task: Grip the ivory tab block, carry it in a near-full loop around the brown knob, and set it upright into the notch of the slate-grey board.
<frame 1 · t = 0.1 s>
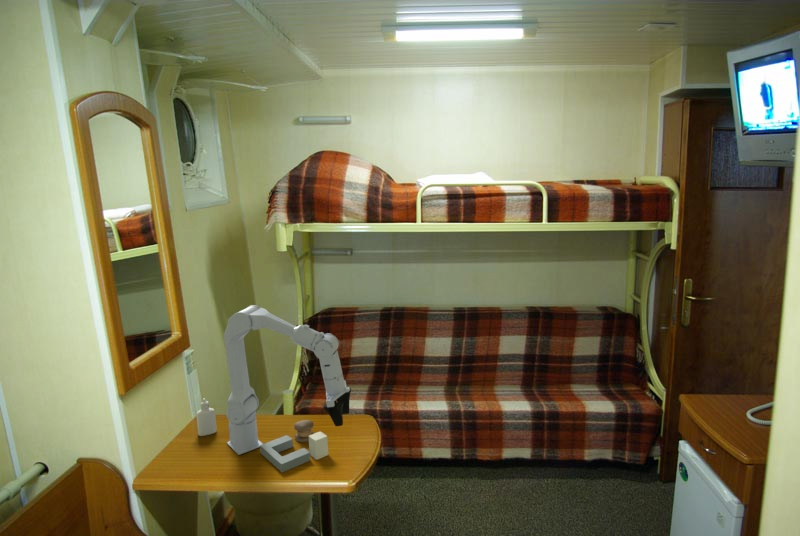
hand: (342, 419, 144), 10 cm above the table, tool pointing down, fingers open, 7 cm apart
brown knob: (304, 437, 155), on the table
notched board: (285, 456, 144), on the table
energy drink: (239, 432, 159), on the table
tab block: (319, 454, 144), on the table
eye dropper bottle: (207, 433, 160), on the table
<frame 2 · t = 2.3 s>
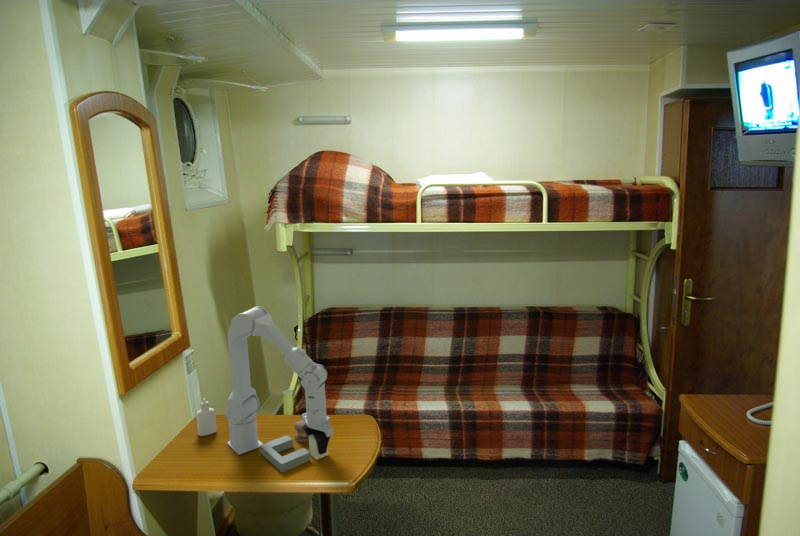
hand: (318, 450, 144), 1 cm above the table, tool pointing down, fingers closed on tab block, 4 cm apart
tab block: (319, 454, 144), on the table, touching gripper
everything else where it was.
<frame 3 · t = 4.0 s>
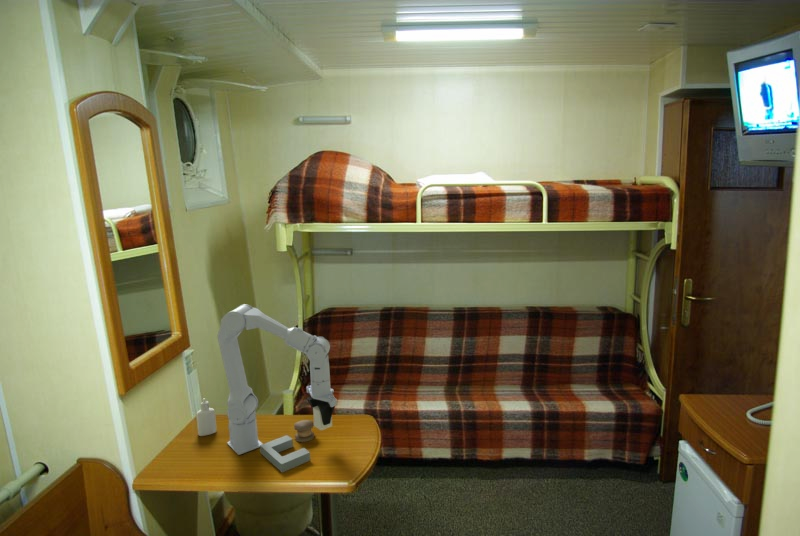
hand: (322, 421, 147), 8 cm above the table, tool pointing down, fingers closed on tab block, 4 cm apart
tab block: (323, 426, 147), point 7 cm above the table, touching gripper
everything else where it was.
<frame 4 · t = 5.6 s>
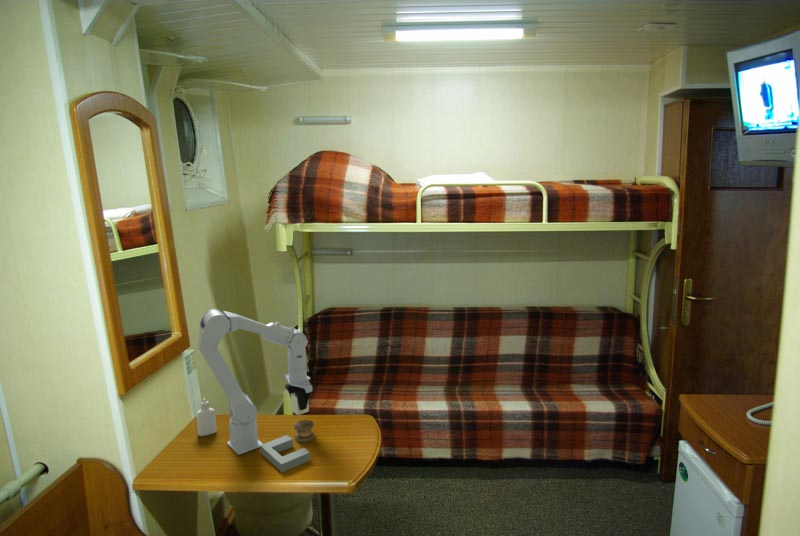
hand: (299, 406, 158), 8 cm above the table, tool pointing down, fingers closed on tab block, 4 cm apart
tab block: (300, 411, 158), point 7 cm above the table, touching gripper
everything else where it was.
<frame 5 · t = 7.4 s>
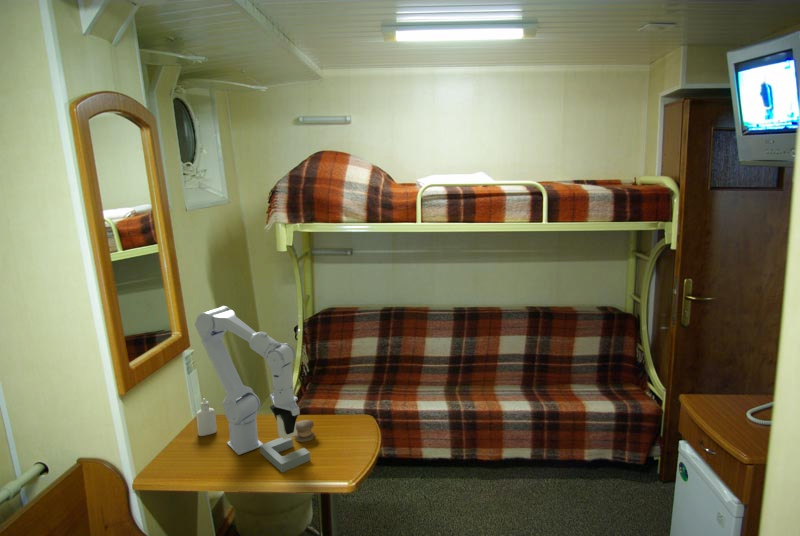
hand: (286, 430, 143), 8 cm above the table, tool pointing down, fingers closed on tab block, 4 cm apart
tab block: (287, 434, 144), point 7 cm above the table, touching gripper
everything else where it was.
when the fingers open (3 cm above the table, at t = 8.8 s): tab block drops 2 cm, on the table.
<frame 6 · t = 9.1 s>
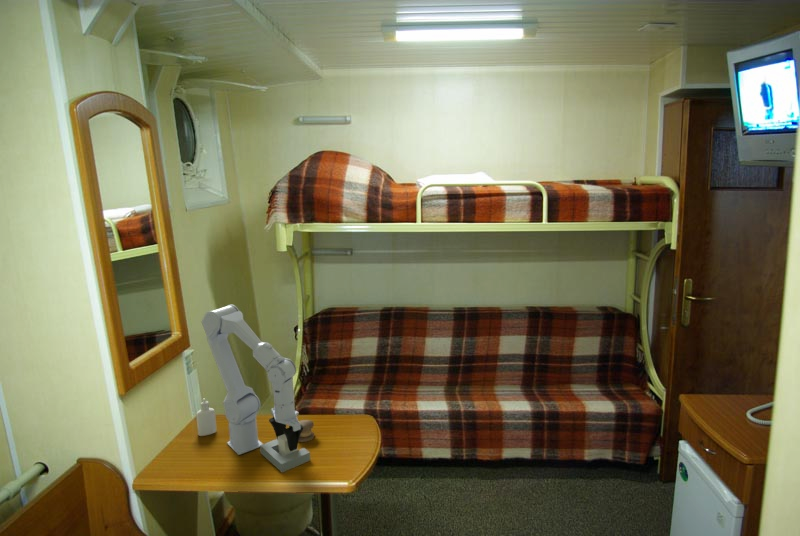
hand: (287, 444, 144), 3 cm above the table, tool pointing down, fingers open, 7 cm apart
tab block: (288, 455, 145), on the table
everything else where it was.
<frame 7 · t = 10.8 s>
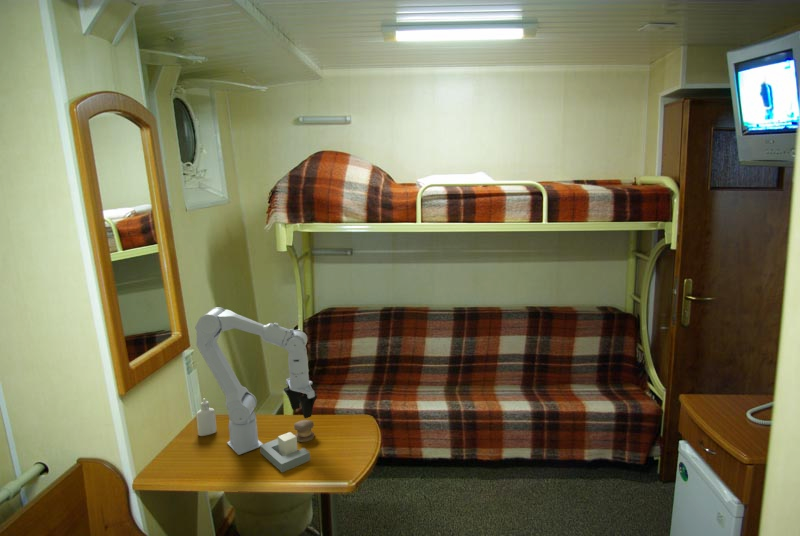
hand: (301, 412, 150), 10 cm above the table, tool pointing down, fingers open, 7 cm apart
nothing on the table moved.
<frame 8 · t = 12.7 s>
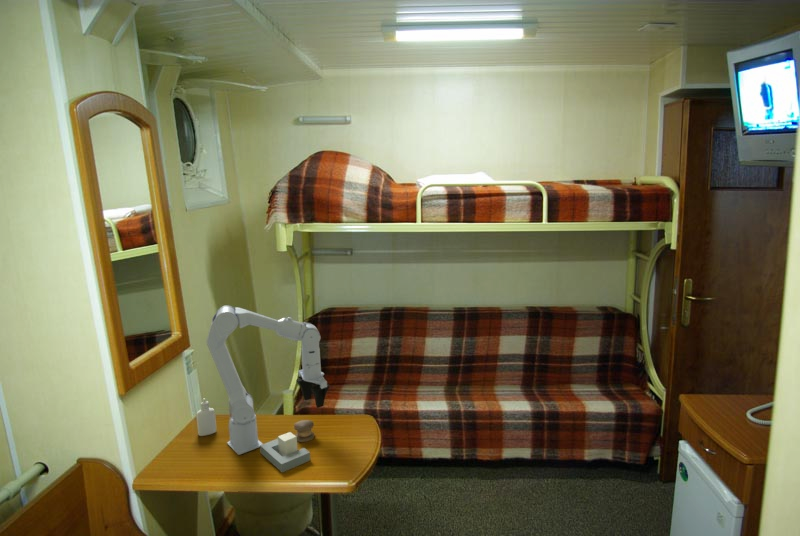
hand: (313, 402, 156), 10 cm above the table, tool pointing down, fingers open, 7 cm apart
nothing on the table moved.
at the end: tab block 0.2 cm from the target spot on the notched board, point 0.0 cm above the notched board's base; tab block tilted 0°; the gripper is holding nothing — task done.
